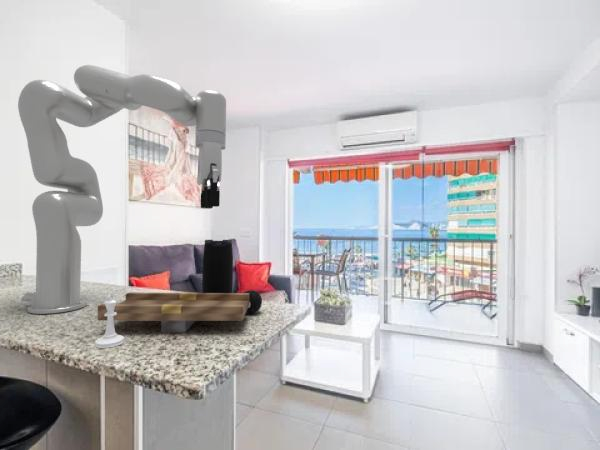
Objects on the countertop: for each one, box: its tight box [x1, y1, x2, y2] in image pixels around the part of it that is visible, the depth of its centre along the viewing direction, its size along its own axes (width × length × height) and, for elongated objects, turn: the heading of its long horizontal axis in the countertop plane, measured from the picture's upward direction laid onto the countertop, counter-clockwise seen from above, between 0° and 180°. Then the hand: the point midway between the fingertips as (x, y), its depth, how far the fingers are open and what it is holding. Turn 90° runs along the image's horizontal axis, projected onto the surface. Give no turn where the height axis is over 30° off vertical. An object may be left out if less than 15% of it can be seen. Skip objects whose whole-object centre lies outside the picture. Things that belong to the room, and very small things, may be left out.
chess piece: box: [94, 291, 125, 349], centre depth 60 cm, size 5×5×10 cm
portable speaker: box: [201, 239, 234, 293], centre depth 88 cm, size 8×9×19 cm
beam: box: [97, 292, 249, 333], centre depth 72 cm, size 30×13×6 cm, turn 93°
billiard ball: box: [243, 289, 263, 315], centre depth 82 cm, size 6×6×6 cm
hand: (209, 207), depth 80 cm, fingers open, 9 cm apart
